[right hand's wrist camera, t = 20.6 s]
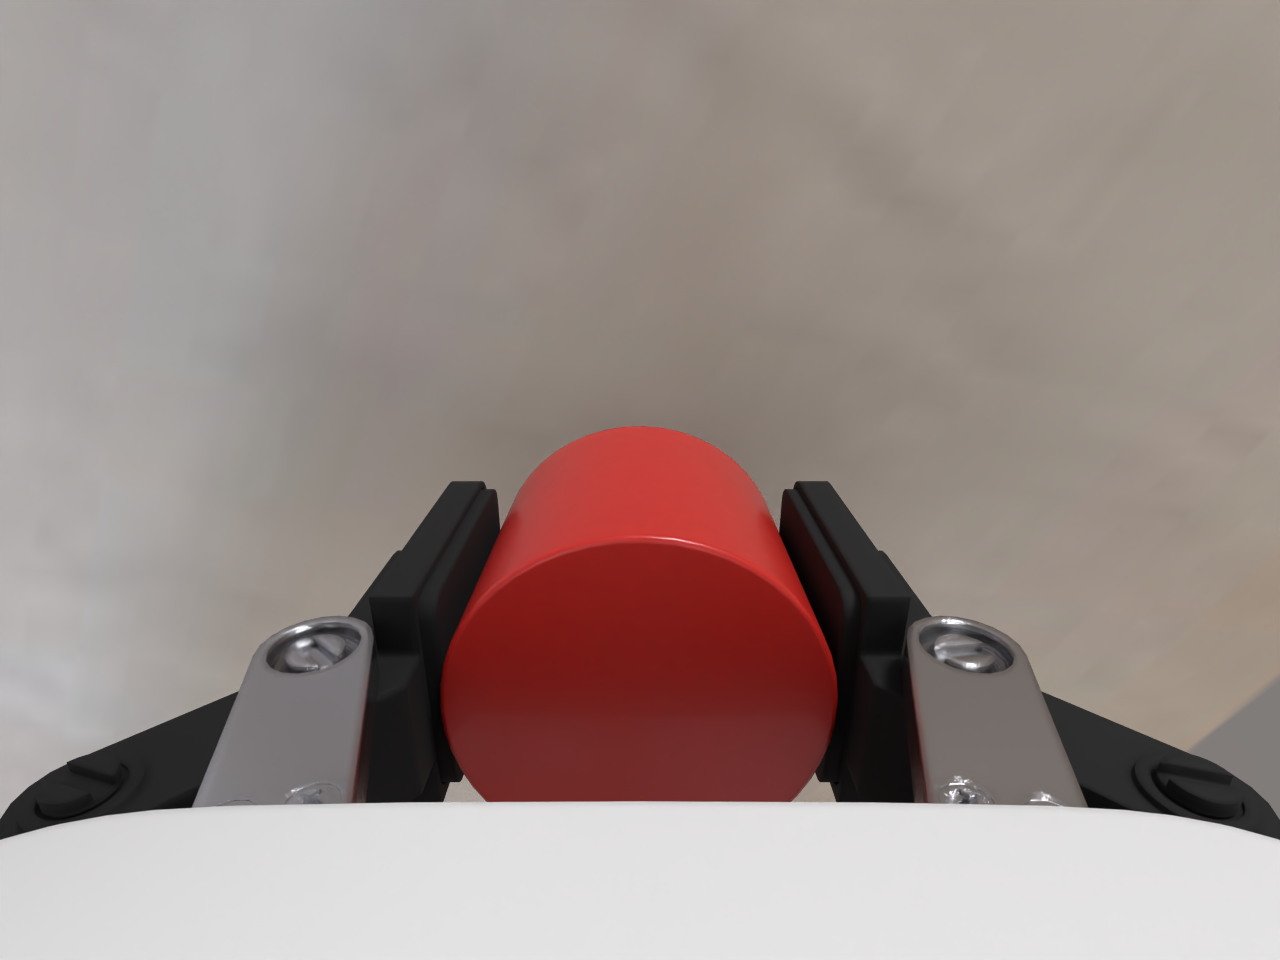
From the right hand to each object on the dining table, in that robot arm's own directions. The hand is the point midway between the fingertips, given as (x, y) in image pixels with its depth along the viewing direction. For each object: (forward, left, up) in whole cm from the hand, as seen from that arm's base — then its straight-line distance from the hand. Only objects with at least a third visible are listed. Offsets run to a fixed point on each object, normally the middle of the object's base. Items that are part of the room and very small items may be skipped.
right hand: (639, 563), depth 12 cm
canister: (0, 0, 0) cm, 0 cm away
